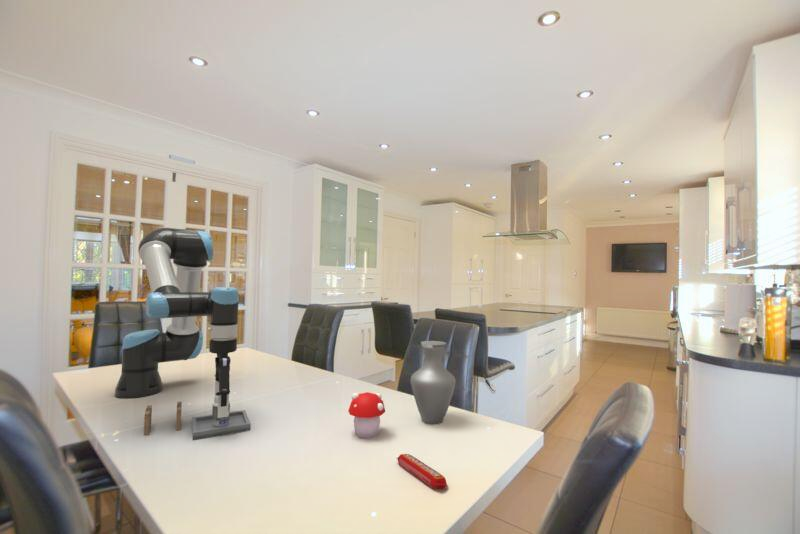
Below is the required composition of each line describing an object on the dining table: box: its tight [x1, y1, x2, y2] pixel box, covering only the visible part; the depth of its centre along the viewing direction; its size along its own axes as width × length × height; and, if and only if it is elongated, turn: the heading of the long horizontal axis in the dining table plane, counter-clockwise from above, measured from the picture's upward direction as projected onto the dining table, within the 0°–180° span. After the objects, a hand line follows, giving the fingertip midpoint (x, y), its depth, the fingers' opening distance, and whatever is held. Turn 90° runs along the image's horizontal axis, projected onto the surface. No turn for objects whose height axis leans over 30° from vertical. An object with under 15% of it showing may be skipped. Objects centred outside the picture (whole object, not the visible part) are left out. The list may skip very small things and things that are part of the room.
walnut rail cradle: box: [143, 401, 183, 436], centre depth 113 cm, size 8×9×6 cm
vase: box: [410, 340, 457, 425], centre depth 123 cm, size 14×14×25 cm
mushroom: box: [347, 391, 386, 439], centre depth 111 cm, size 11×11×12 cm
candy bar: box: [396, 453, 449, 489], centre depth 88 cm, size 16×4×3 cm, turn 35°
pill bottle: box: [211, 394, 231, 426], centre depth 114 cm, size 5×5×8 cm
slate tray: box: [191, 409, 252, 441], centre depth 114 cm, size 13×15×2 cm
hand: (221, 409), depth 114 cm, fingers open, 13 cm apart
